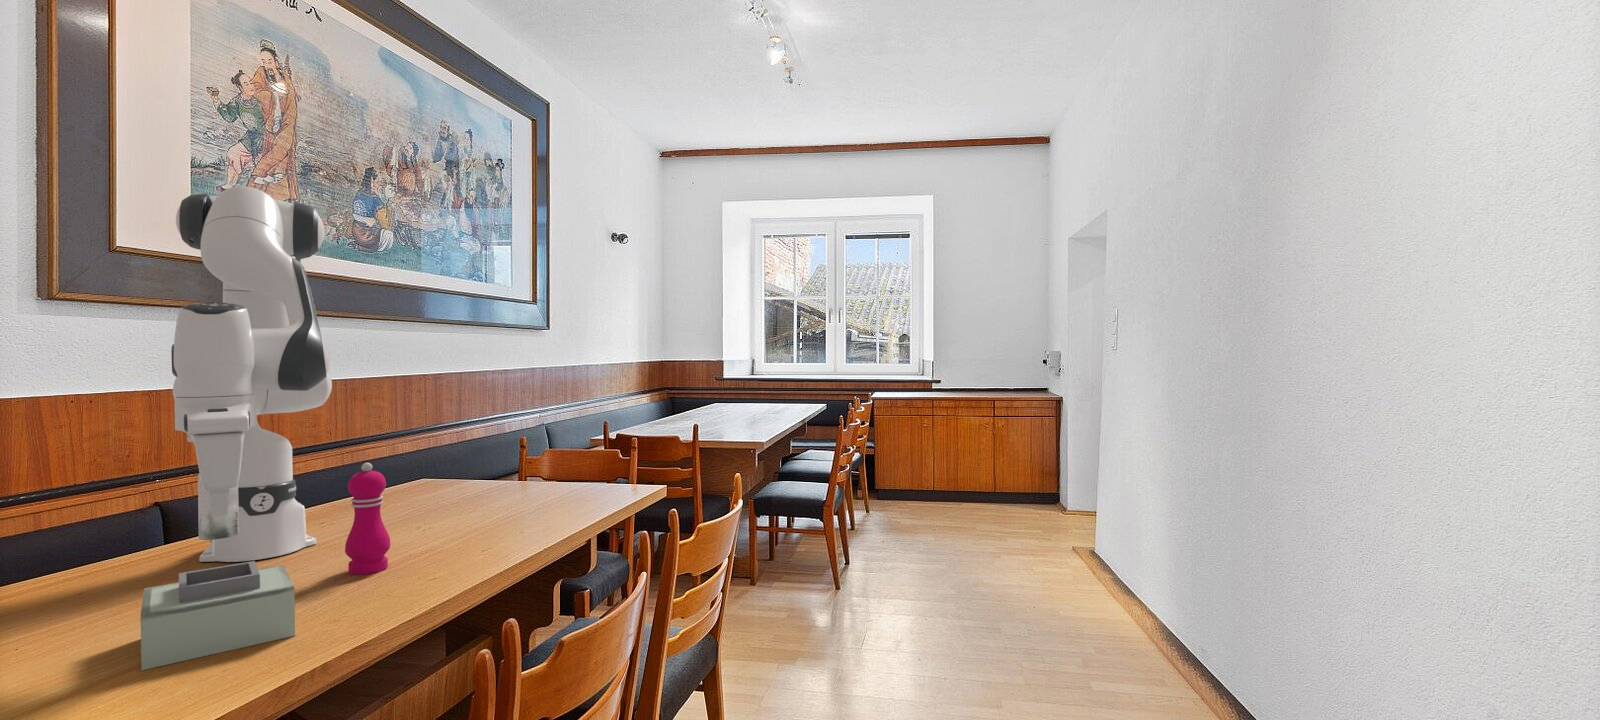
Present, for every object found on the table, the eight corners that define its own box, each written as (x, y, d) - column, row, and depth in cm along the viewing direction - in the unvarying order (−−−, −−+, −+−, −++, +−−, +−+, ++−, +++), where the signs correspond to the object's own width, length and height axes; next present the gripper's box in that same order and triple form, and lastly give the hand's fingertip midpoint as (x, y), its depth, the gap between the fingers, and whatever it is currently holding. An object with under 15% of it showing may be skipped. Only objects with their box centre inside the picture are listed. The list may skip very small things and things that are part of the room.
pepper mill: (369, 576, 126) (367, 466, 126) (335, 574, 127) (333, 465, 127) (399, 564, 133) (398, 460, 133) (367, 562, 134) (365, 459, 134)
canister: (198, 535, 100) (197, 454, 100) (237, 530, 103) (236, 451, 103) (199, 541, 96) (197, 458, 96) (240, 536, 99) (238, 454, 99)
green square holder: (145, 637, 100) (144, 574, 100) (284, 608, 110) (283, 552, 110) (141, 670, 89) (140, 600, 89) (295, 635, 100) (294, 573, 100)
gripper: (186, 413, 105) (188, 504, 105) (187, 422, 90) (189, 529, 90) (239, 410, 109) (241, 498, 109) (249, 419, 94) (252, 521, 94)
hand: (218, 512), depth 99 cm, fingers closed on canister, 4 cm apart
